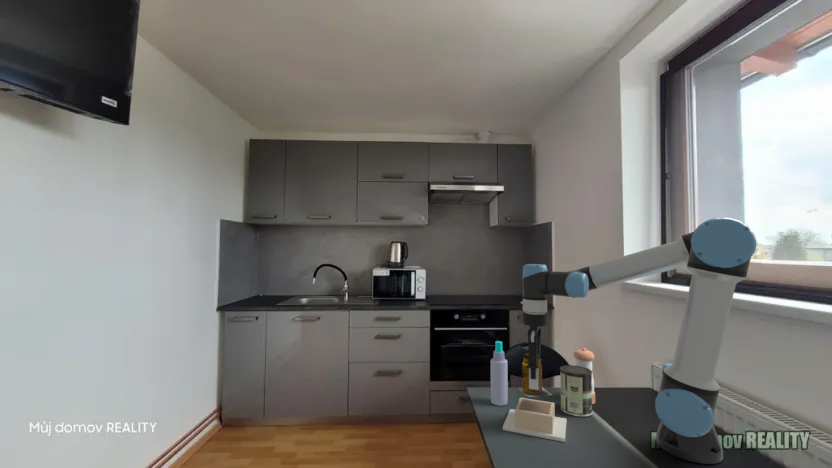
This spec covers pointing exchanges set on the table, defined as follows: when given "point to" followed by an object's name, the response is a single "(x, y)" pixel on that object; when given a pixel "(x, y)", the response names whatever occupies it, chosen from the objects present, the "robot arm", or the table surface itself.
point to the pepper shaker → (585, 364)
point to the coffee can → (576, 390)
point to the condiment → (525, 380)
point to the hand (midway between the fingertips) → (534, 385)
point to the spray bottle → (499, 376)
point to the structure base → (554, 436)
